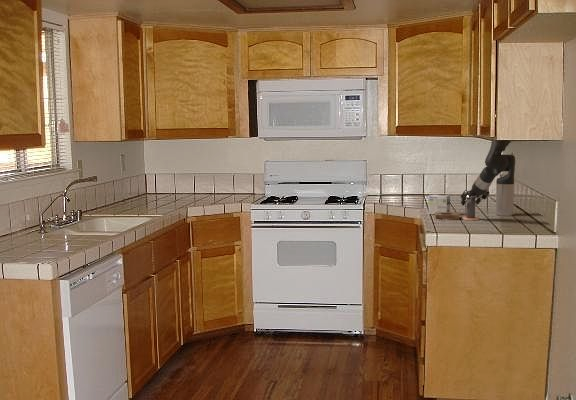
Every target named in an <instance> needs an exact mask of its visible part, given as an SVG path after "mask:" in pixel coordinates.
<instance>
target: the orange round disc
mask: <svg viewBox="0 0 576 400" xmlns="http://www.w3.org/2000/svg"><path fill="white" fill-rule="evenodd" d="M462 219H463V220H462ZM461 220H462V221H468V220H469V221H471V222H472V221H473V222H474V221H480V217H478V216H475V218H466V216H461Z"/></svg>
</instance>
